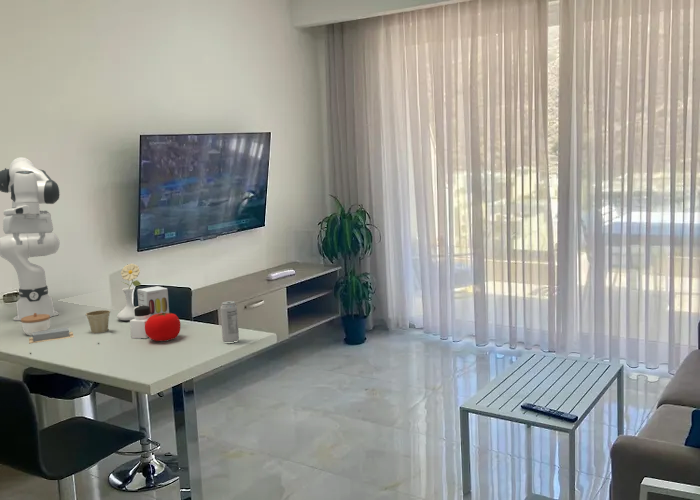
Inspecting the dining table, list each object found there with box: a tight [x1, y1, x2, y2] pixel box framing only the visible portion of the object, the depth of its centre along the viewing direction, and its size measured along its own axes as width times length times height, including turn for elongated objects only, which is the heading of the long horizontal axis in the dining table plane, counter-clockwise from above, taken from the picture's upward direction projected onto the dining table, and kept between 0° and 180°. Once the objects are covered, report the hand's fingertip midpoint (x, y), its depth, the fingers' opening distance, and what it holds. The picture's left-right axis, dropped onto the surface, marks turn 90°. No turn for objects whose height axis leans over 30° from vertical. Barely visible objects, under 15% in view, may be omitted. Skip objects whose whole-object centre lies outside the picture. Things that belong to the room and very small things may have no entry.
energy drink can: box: [219, 300, 240, 342], centre depth 247 cm, size 6×6×15 cm
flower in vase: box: [116, 262, 142, 321], centre depth 291 cm, size 13×11×25 cm
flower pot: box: [85, 309, 111, 334], centre depth 270 cm, size 9×9×9 cm
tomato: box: [145, 312, 181, 342], centre depth 256 cm, size 14×13×10 cm
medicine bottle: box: [129, 305, 150, 339], centre depth 262 cm, size 7×7×12 cm
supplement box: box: [137, 285, 170, 317], centre depth 273 cm, size 10×9×17 cm
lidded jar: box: [20, 313, 51, 337], centre depth 271 cm, size 11×11×9 cm
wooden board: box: [28, 331, 74, 344], centre depth 263 cm, size 10×16×1 cm, turn 116°
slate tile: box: [32, 327, 70, 342], centre depth 263 cm, size 6×13×2 cm, turn 116°
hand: (30, 244), depth 270 cm, fingers open, 8 cm apart
